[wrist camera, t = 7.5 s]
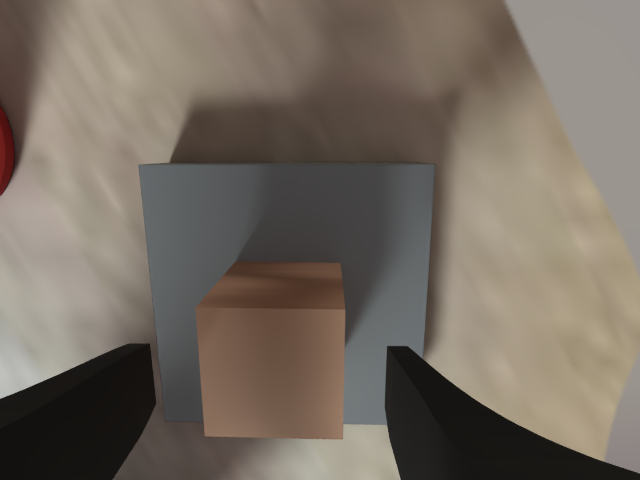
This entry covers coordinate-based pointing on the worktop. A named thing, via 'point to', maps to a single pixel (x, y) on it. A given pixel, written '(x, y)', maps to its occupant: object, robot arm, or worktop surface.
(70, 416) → the robot arm
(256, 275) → the terracotta block
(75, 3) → the worktop surface
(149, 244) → the charcoal stand
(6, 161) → the canned food
